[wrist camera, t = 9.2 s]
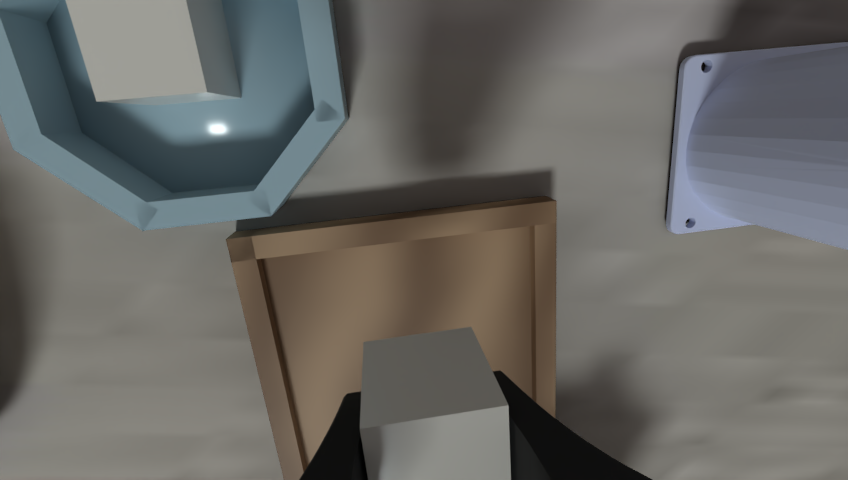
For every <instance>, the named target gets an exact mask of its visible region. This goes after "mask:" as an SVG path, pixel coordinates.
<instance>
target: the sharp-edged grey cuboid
mask: <svg viewBox="0 0 848 480" xmlns="http://www.w3.org/2000/svg"><path fill="white" fill-rule="evenodd" d="M360 434H361V440H362V446H363V452H364V458H365V464H366V470H367V476H368V480H511V463H510V434H509V406H508V403H507V401H506V399H505V397H504V395H503V393H502V390H501V388H500V386H499V384H498V382H497V380H496V378H495V376H494V374H493V371H492V369H491V367H490V365H489V363H488V361H487V359H486V357H485V355H484V352H483V350H482V348H481V346H480V344H479V342H478V340H477V338H476V335H475V333H474V331H473V329H472V327H466V328H459V329H452V330H445V331H438V332H431V333H423V334H416V335H409V336H402V337H395V338H388V339H381V340H374V341H367V342H363V364H362V387H361V409H360Z"/></svg>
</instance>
